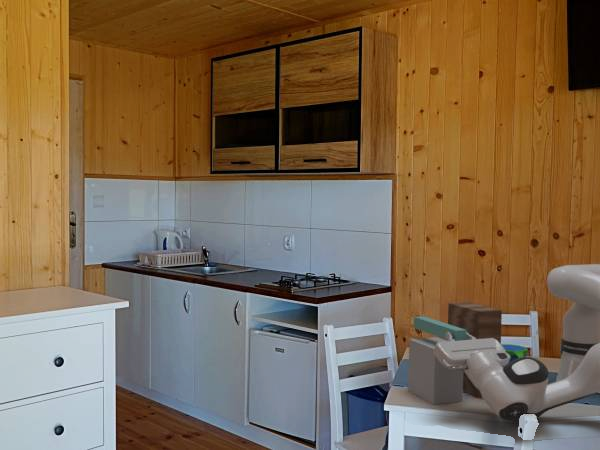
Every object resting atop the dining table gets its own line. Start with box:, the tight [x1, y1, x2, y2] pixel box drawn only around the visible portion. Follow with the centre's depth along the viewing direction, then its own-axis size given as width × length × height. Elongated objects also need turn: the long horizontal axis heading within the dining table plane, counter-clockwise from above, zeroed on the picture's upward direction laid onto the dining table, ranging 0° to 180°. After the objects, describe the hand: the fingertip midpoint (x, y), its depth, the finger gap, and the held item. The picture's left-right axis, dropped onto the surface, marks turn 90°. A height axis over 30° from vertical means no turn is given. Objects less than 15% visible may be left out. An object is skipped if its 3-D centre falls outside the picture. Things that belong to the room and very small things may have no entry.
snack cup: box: [501, 343, 529, 363], centre depth 212 cm, size 16×10×10 cm
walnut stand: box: [446, 301, 503, 399], centre depth 197 cm, size 16×8×26 cm, turn 21°
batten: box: [413, 315, 467, 341], centre depth 188 cm, size 22×4×4 cm, turn 22°
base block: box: [407, 336, 464, 405], centre depth 190 cm, size 14×10×16 cm
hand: (455, 333), depth 180 cm, fingers closed on batten, 3 cm apart
